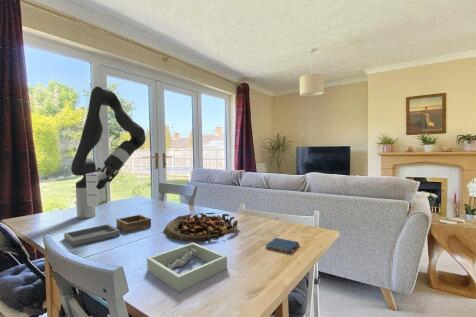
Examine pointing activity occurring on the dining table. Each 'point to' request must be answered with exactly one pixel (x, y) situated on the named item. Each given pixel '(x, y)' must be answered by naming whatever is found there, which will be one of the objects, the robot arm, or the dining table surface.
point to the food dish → (199, 227)
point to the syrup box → (95, 189)
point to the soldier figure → (184, 259)
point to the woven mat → (282, 245)
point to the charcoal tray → (91, 235)
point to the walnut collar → (133, 223)
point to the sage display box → (190, 277)
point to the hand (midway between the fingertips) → (93, 187)
